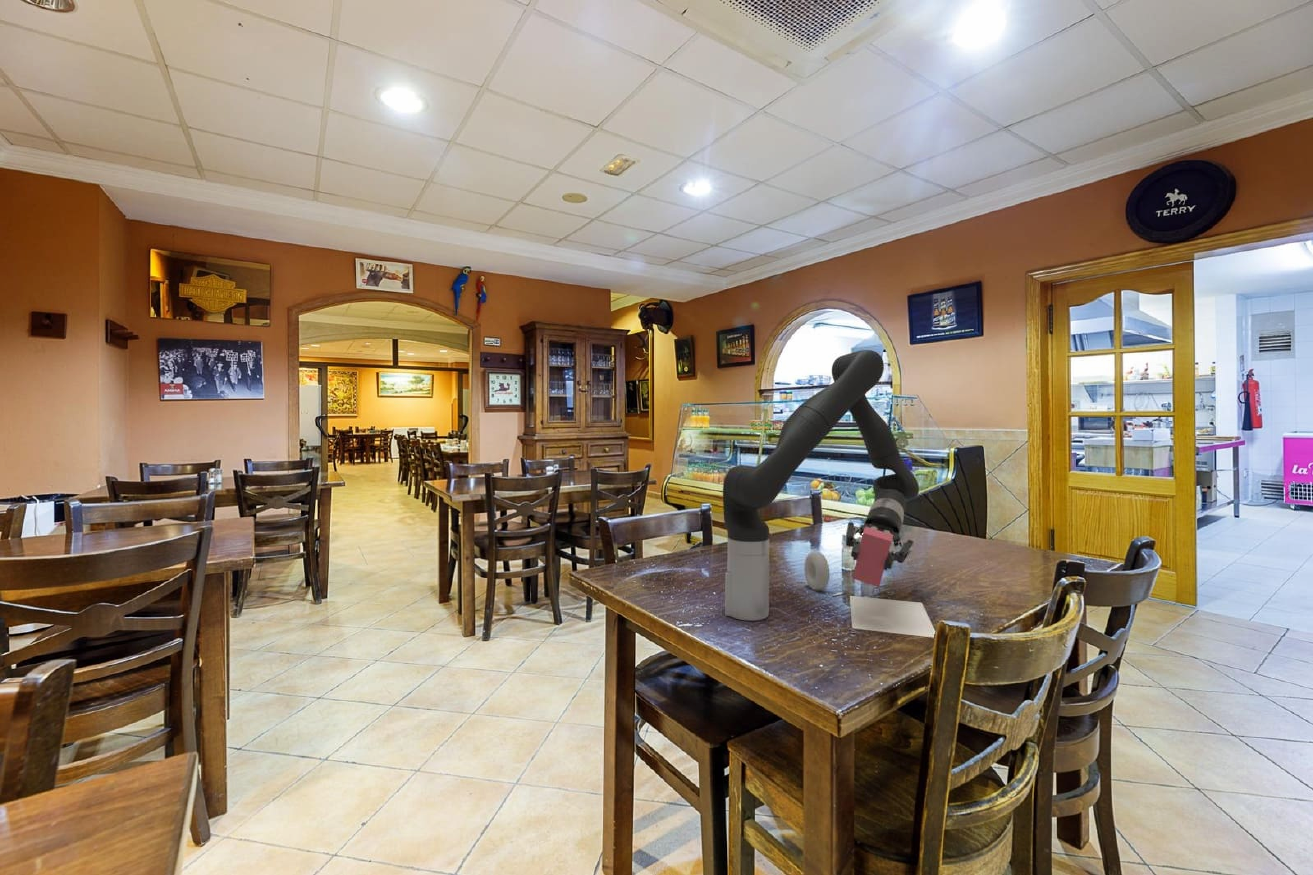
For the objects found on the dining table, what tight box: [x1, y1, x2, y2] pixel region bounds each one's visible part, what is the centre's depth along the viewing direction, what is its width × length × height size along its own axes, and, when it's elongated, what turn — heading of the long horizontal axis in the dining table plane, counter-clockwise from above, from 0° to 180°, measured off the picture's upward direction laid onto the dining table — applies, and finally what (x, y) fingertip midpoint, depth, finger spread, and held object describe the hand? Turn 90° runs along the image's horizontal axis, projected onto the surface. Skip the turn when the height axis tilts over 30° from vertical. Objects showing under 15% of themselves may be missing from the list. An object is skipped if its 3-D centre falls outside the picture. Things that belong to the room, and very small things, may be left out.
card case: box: [852, 527, 893, 588], centre depth 113 cm, size 6×3×12 cm, turn 63°
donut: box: [803, 550, 830, 592], centre depth 139 cm, size 10×4×10 cm, turn 9°
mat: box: [849, 595, 936, 639], centre depth 120 cm, size 16×22×1 cm
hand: (870, 561), depth 111 cm, fingers closed on card case, 5 cm apart
